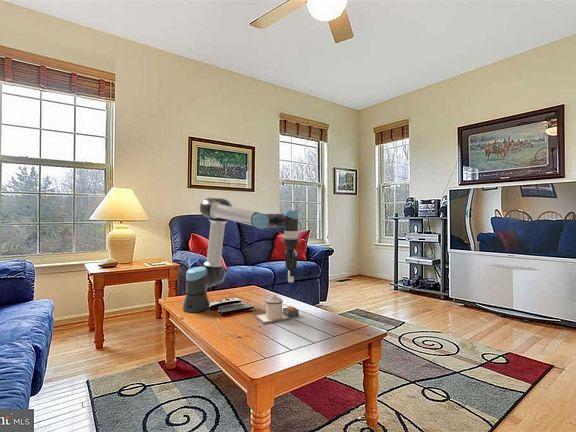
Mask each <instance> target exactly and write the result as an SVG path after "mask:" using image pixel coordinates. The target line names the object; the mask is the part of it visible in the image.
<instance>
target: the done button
mask: <svg viewBox="0 0 576 432" xmlns="http://www.w3.org/2000/svg"><path fill="white" fill-rule="evenodd" d="M286 308H287V310H288V311H291V310H294V306H290V305H289V306H287V307H286Z"/></svg>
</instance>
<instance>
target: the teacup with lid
mask: <svg viewBox="0 0 576 432" xmlns="http://www.w3.org/2000/svg"><path fill="white" fill-rule="evenodd" d="M283 302H284V301H283V299H282V298H279V297H278V296H277V295H276V294H272V296H271V297H269V298H266V300H265V301H264V308H265V314H266V318H267V319H270V320H278V319H281V318H282V313H283Z"/></svg>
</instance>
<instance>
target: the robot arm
mask: <svg viewBox="0 0 576 432" xmlns="http://www.w3.org/2000/svg"><path fill="white" fill-rule="evenodd" d="M199 211H200V214H201V215H202V216H203V217H205V218H208V221H209V222H210V227H209V236H208V245H207V254H206V256H207V257H206V261H205V262H203V265H202V266H194V267H191V268H188V269H187V271H186V273H185V298H184V301H183V303H182V310H183V312H186V313H201V312H205V311H208V310H210V308H209V306H210V307H211V303H210V301H209V297H208V288H210V287H211V288H212V287H215V286H218V285H220V284H221V283H223V282H224V280H225V278H226V270H225V268H224V266H223V265H224V264H223V263H222V253H223V244H224V243H223V242H224V237H225V236H224V235H225V227H226V224H228V222H229V221H231V222H236V223H240V224H244V225H249V226H253V227H255V229H262V230H263V229H268V228H269V229H270V228H283V229H284V230H283V238H284V240H283V246H284V247H285V249H284V250H283V253H284V260H285V261H284V262H285V268H286V269H287V282H288V283H294V282H295V281H294V278H295V276H294V275H295V273H294V272H295V270H297V265H298V256H299V253H300V252H297V248H296V247H298V246H299V239H298V237H299V212H298V210H296V209H295V210H292V209H291V210H290V209H287V210H285V209H284V213H264V212H263V213H262V212H260V211H259V212H257V211H252V210H250V209H249V210H248V209H243V208H239V207H234V206H233V204H232V203H231V202H230V200H228V199H225V198H219V197H218V198H217V197H215V198H214V197H207V198H205V199H203V200H201V202H200V204H199Z"/></svg>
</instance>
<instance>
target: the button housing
mask: <svg viewBox="0 0 576 432" xmlns="http://www.w3.org/2000/svg"><path fill="white" fill-rule="evenodd" d="M293 307H294V306H293ZM282 313H283V314H285V315H286V316H288V317H290V318H291V319H292V318H296V317H299V316H300V314H299V313H300V310H299V309H298V308H297V307H294V310H291V311H288V310H287V307H282Z"/></svg>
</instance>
